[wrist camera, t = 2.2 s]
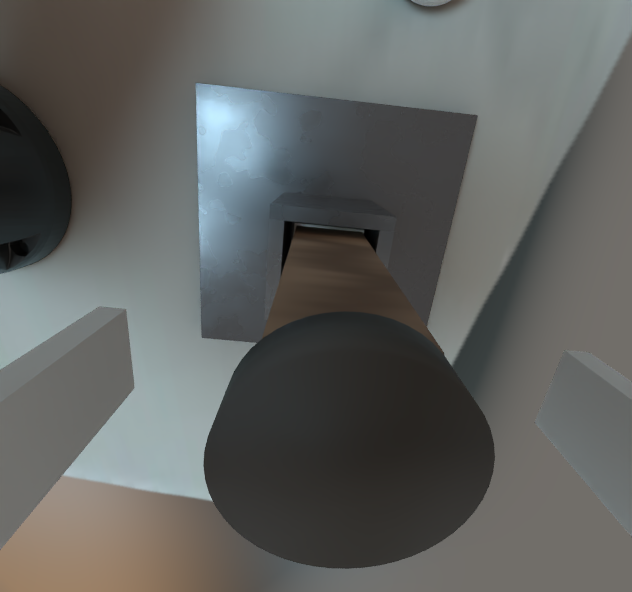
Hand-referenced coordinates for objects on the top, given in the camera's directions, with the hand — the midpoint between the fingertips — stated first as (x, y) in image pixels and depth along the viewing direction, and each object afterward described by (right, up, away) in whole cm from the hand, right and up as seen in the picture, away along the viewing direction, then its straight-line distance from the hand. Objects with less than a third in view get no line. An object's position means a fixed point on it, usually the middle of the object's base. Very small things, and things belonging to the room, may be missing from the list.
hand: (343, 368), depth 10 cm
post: (0, +7, +16) cm, 18 cm away
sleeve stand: (0, +7, +18) cm, 20 cm away
